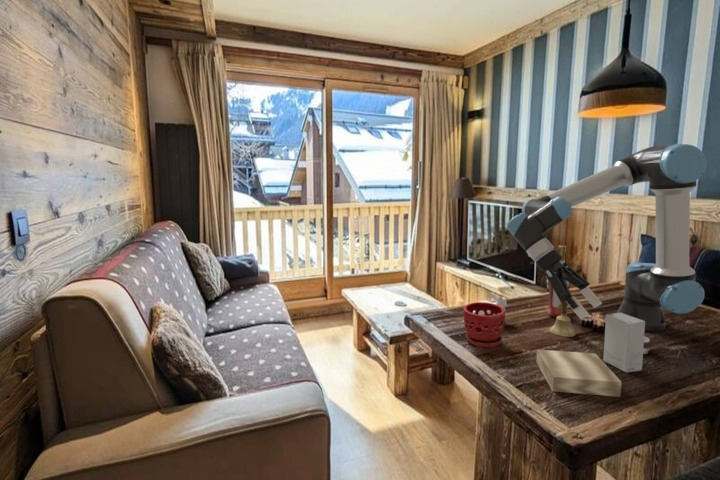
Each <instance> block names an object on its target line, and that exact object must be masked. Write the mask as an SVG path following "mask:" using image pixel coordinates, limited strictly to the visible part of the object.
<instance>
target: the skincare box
mask: <svg viewBox="0 0 720 480" xmlns="http://www.w3.org/2000/svg"><path fill="white" fill-rule="evenodd" d="M644 336H645V321H643V320H640V319H637V318H634V317H632V316H629V315H626V314H623V313H617V312H616V313H609V314H606V315H605V326H604V342H603V343H604V344H603V347H604V348H603V359H602V361H603V362H604V363H608V364H609V365H612V366H613V367H614V368H617V369H619V370H621V371H623V372H625V373H631V372H633V373H634V372H641V371H642V370H643V361H644V360H643V359H644V358H643V357H644V354H643V348H645V347H644V344H645V343H644Z"/></svg>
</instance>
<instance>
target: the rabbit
mask: <svg viewBox="0 0 720 480" xmlns="http://www.w3.org/2000/svg"><path fill="white" fill-rule="evenodd" d="M487 297H488V298H491V299H493V300H494V301H495V300H496V301H495V302H494V301H493V302H492V301H490V300H487V299H486V300H480V302H484V303H492V304H496V305H498V306H501V307H502V308H503V309H504V310H505V311H506V307H507V306H508V304H507V303H508V302H507V298H505V297H503V296H498V295H496V294H494V293H492V292H491V291H490V292H488V293H487ZM474 313H475V311H473V314H474ZM487 313H488V314H490V313H491V311H490V310H487ZM478 314H479V315H485V313H484V311H479V313H478ZM498 314H499V313H498ZM493 315H495V314H493Z"/></svg>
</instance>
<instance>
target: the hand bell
mask: <svg viewBox="0 0 720 480" xmlns="http://www.w3.org/2000/svg"><path fill="white" fill-rule="evenodd" d="M561 303H562V312H561V316H557V317H555V322H554V324H553V325H552V326H550V328H549V332H550V333H551V334H552V335H556V336H557V337H564V338H571V337H572V338H573V337H576V332H575V330H573V327H572V322H571V321H572V320H571V318H570V317H569V316H568V315H567V313H568V306H569V305H568V304H567V302H566V301H564V302H561Z"/></svg>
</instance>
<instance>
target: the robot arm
mask: <svg viewBox="0 0 720 480" xmlns="http://www.w3.org/2000/svg"><path fill="white" fill-rule="evenodd" d="M707 164H708V163H707V158H706V156H705V154H704V152H703V151H702V150H701V149H699V148H698V147H697V146H696V145H692V144H689V143H688V144H687V143H685V144H684V143H674V144H668V145H660V146H659V145H657V146H656V145H655V146H649V147H646V148H644V149H641V150H639V151H636V152H635V153H632V154H630V155H628V156H626V157H623V158H622V159H620V160H617V161H615V162H614V163H613V165H612V166H610V167H608V168H606V169H604V170H601V171H599V172H596V173H593V174H592V175H590V176H587V177H585V178H582V179H580V180H578V181H576V182H573V183H571V184H569V185H567V186H564V187H562V188H560V189H557V190H555V191H552V192H550V193H548V194H546V195H543V196H541V197H538V198H532V199H528V200H526V201H525V202H523V204H522V207H521V212H520V213H518V214H516V215H515V216H513V217H511V219H510V220H509V221H508V222H507V224H506V228H507V230H508V232H510V234H511V236H512V237H513V239H515V240H516V242H517V243H518V244H519V245H520V247H521V248H522V249H523V250H524V251H525V252H526V253H527V257H529V258H531V259H532V260H533V262H534V261H535V265H536V266H537V267H538V269H540V270H541V272H544V274H543V275H545V277H546V279H548V282H549V281H550V283H551V285H552V287H553V289H554V291H555V292H556V294H557V296H558V298H559V300H560V301H561V302H564V301H566V302H567V304H568V305H567V306H569V307H570V308H571V309H572V311H573V312H574V314H575V315H576V316H577V317H578V318H579V320H583V319H584V318H586V317H588V316H590V312H588V310H587V309H585V307H584V306H583V305H582V304H581V302H580V301H579V300H578V299H577V298H576V297H575V296H574V295H573V296H572V293H571V290H570V288H569V286H567V283H566V281H565V280H567V281H568V282H569V284H571V285H573V286H575V287H576V288H577V289H579V291H580V293H581V295H583V297H584V298H585V299H586V300H587V302H588V303H589V304H590V305H591V306H592V307H593V308H594V309H596V308H597V307H599V306H601V305H602V304H603V302H602V301H601V300H600V299H599V297H597V294H595V293H594V291H593V290H591V288H590V287H589V286H590V285H591V284H590V282H589V281H587V280H586V279H585V278H584V277H583V276H582V275H581V274H579V273H578V272H577V271H576V270H575V269H573V268H572V267H571V266H570V265H569V264H568V263H567V262H566V261H565V262H564V263H563V264H561V263H560V260H562V258H563V257H562V256H561V255H560V254H559V252H558V249H554V248H555V247H554V245H553V244H552V243H551V242H550V240H549V239H547V237H546V236H545V235H544V234H545V233H547V232H548V231H550V230H551V229H552V228H554V227H556V226H557V225H559V224H560V223H562V222H563V221H565V220H567V218H569V217H570V216H571V215H573V208H572V207H575V206H578V205H580V204H583V203H584V202H587V201H589V200H591V199H594V198H596V197H599V196H602V195H604V194H606V193H609V192H611V191H613V190H615V189H618V188H620V187H623V186H624V187H630V186H633V185H635V184H639V183H644V182H646V183H647V182H649V190H650V191H651V192H652V193H653V194H654V195H655V263H653V262H648V263H647V262H632V263H629V264H628V265H627V267H626V268H627V269H626V271H625V283H624V292H623V300H622V303H621V304H620V306H619V308H618V309H617V311H616V313H623V314H626V315H629V316H632V317H634V318H637V319H640V320H643V321H645V331H646V332H661V331H665V329H666V325H667V324H666V323H667V322H666V319H665V314H664V312H663V310H664V311H668V312H671V313H674V314H679V315H680V314H681V315H682V314H688V313H691V312H693V311H694V310H697V308H698V307H700V306H701V305H702V303H703V301H704V299H705V289H704V288H703V286H702V285H701V284H700V283H699V282H697V281H696V270H695V269H693V268H692V267H691V266H690V235H691V234H690V223H691V222H690V221H691V220H690V218H691V217H690V211H691V209H690V208H691V202H690V201H691V197H690V196H691V192H692V191H693V190H694V189H695V188H696V187H697V180H699V179H700V178H701V177H702V175H703V174H704V173H705V171H706V169H707Z"/></svg>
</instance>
